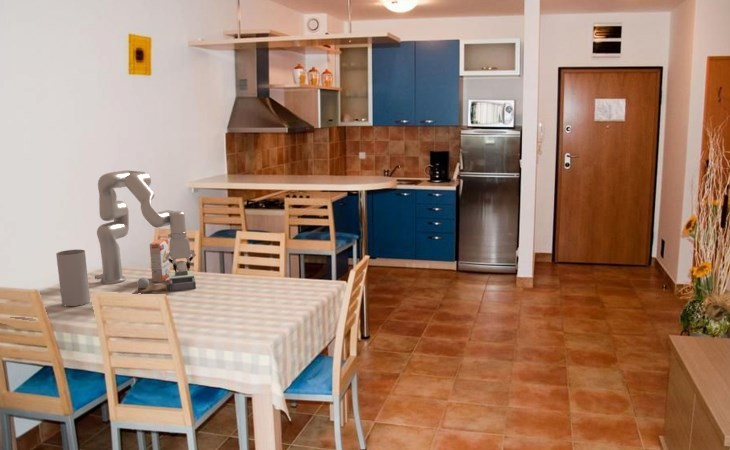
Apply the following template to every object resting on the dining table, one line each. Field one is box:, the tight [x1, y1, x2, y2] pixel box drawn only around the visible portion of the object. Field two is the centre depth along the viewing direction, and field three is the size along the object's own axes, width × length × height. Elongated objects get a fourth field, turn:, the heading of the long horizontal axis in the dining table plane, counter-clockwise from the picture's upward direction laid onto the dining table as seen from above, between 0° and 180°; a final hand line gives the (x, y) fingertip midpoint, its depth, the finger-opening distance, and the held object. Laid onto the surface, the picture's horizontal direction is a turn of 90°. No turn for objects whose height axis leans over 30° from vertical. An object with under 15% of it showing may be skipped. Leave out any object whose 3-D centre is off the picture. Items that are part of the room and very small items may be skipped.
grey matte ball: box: [137, 277, 150, 289], centre depth 345 cm, size 6×6×6 cm
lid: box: [168, 269, 195, 279], centre depth 360 cm, size 12×12×3 cm
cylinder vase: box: [55, 249, 91, 307], centre depth 326 cm, size 12×12×25 cm
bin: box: [168, 276, 197, 292], centre depth 357 cm, size 12×25×4 cm, turn 17°
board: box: [136, 283, 168, 295], centre depth 347 cm, size 14×10×2 cm
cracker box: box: [149, 238, 171, 283], centre depth 367 cm, size 14×6×21 cm, turn 179°
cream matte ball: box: [176, 260, 187, 272], centre depth 349 cm, size 6×6×6 cm
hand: (181, 270), depth 350 cm, fingers closed on cream matte ball, 5 cm apart
